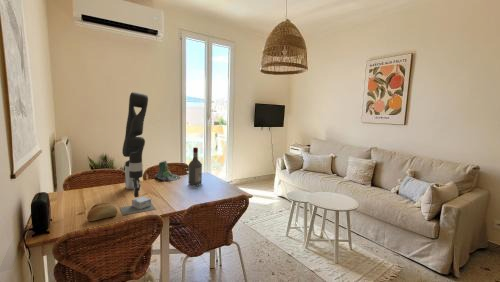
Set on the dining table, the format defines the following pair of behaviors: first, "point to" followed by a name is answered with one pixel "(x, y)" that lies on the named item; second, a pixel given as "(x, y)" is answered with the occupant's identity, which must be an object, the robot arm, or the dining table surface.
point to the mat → (135, 209)
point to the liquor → (195, 169)
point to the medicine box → (141, 202)
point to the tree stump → (165, 173)
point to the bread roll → (101, 211)
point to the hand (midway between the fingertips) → (136, 196)
